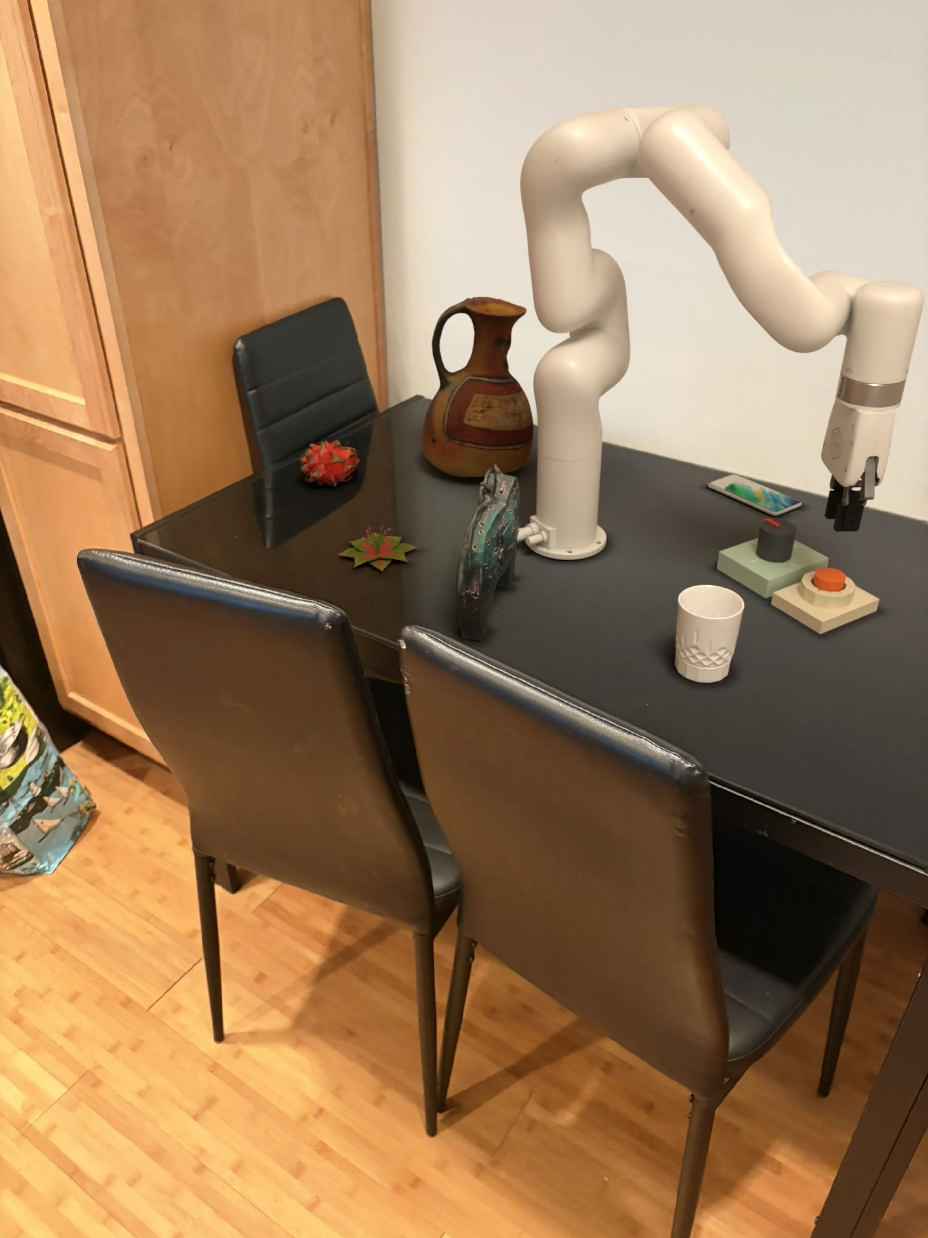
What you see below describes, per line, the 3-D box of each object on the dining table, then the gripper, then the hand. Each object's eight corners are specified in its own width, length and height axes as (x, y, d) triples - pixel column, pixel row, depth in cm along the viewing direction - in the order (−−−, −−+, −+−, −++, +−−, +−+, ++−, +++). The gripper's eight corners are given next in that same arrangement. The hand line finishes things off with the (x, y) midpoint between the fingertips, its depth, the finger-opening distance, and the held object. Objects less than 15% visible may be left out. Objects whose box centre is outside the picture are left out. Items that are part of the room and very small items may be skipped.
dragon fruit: (297, 497, 171) (357, 489, 178) (314, 484, 164) (376, 476, 171) (286, 451, 172) (346, 445, 178) (303, 435, 165) (365, 430, 171)
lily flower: (373, 529, 157) (371, 504, 155) (432, 549, 151) (431, 523, 149) (323, 560, 149) (320, 533, 146) (383, 582, 143) (381, 554, 140)
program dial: (798, 557, 141) (804, 527, 138) (773, 565, 139) (778, 536, 136) (774, 543, 144) (779, 514, 142) (748, 551, 142) (753, 522, 140)
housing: (820, 634, 129) (825, 609, 127) (770, 604, 136) (775, 579, 133) (876, 611, 134) (882, 586, 131) (826, 583, 140) (831, 558, 138)
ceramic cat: (487, 569, 146) (487, 444, 135) (529, 574, 144) (532, 449, 133) (448, 640, 130) (443, 505, 119) (494, 647, 128) (494, 511, 117)
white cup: (663, 652, 126) (670, 586, 121) (722, 648, 127) (732, 582, 121) (679, 688, 120) (688, 620, 114) (742, 684, 120) (753, 616, 115)
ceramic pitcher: (535, 489, 169) (539, 316, 152) (420, 491, 169) (411, 318, 153) (530, 445, 185) (533, 285, 169) (425, 447, 185) (418, 287, 169)
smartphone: (733, 472, 171) (803, 501, 160) (733, 477, 171) (803, 506, 161) (705, 482, 167) (775, 513, 157) (705, 487, 168) (774, 517, 157)
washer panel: (765, 598, 137) (768, 579, 135) (716, 568, 144) (719, 550, 142) (825, 575, 142) (829, 556, 140) (775, 548, 149) (778, 529, 147)
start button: (829, 596, 130) (831, 584, 129) (806, 583, 133) (808, 572, 132) (849, 587, 132) (852, 576, 131) (826, 575, 135) (829, 564, 134)
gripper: (818, 368, 124) (794, 498, 134) (862, 414, 111) (832, 554, 121) (876, 367, 124) (848, 496, 134) (928, 412, 111) (892, 553, 121)
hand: (841, 523), depth 127 cm, fingers closed
